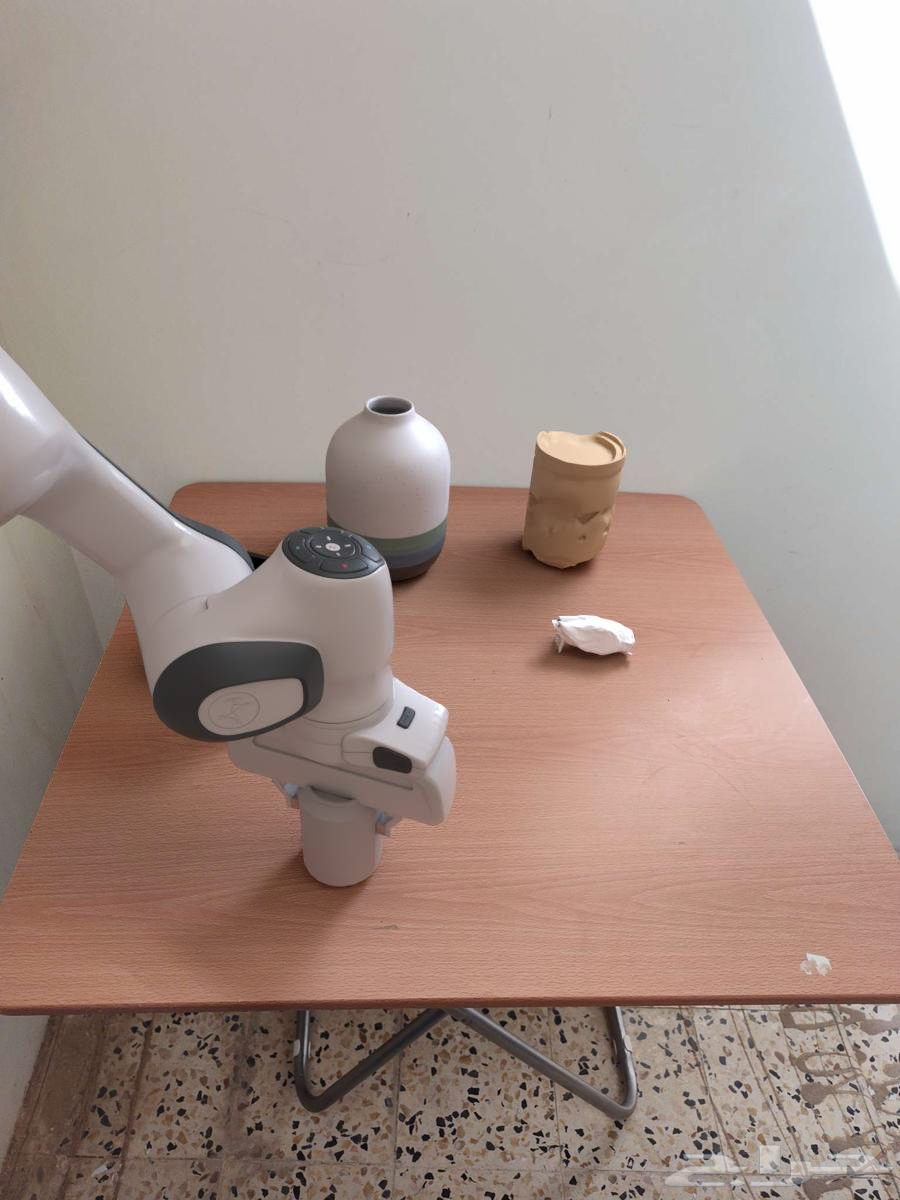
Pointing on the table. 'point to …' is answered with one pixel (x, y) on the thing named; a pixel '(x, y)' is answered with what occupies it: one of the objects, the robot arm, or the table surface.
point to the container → (572, 495)
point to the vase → (390, 484)
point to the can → (338, 837)
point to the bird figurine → (593, 634)
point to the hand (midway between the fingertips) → (342, 816)
